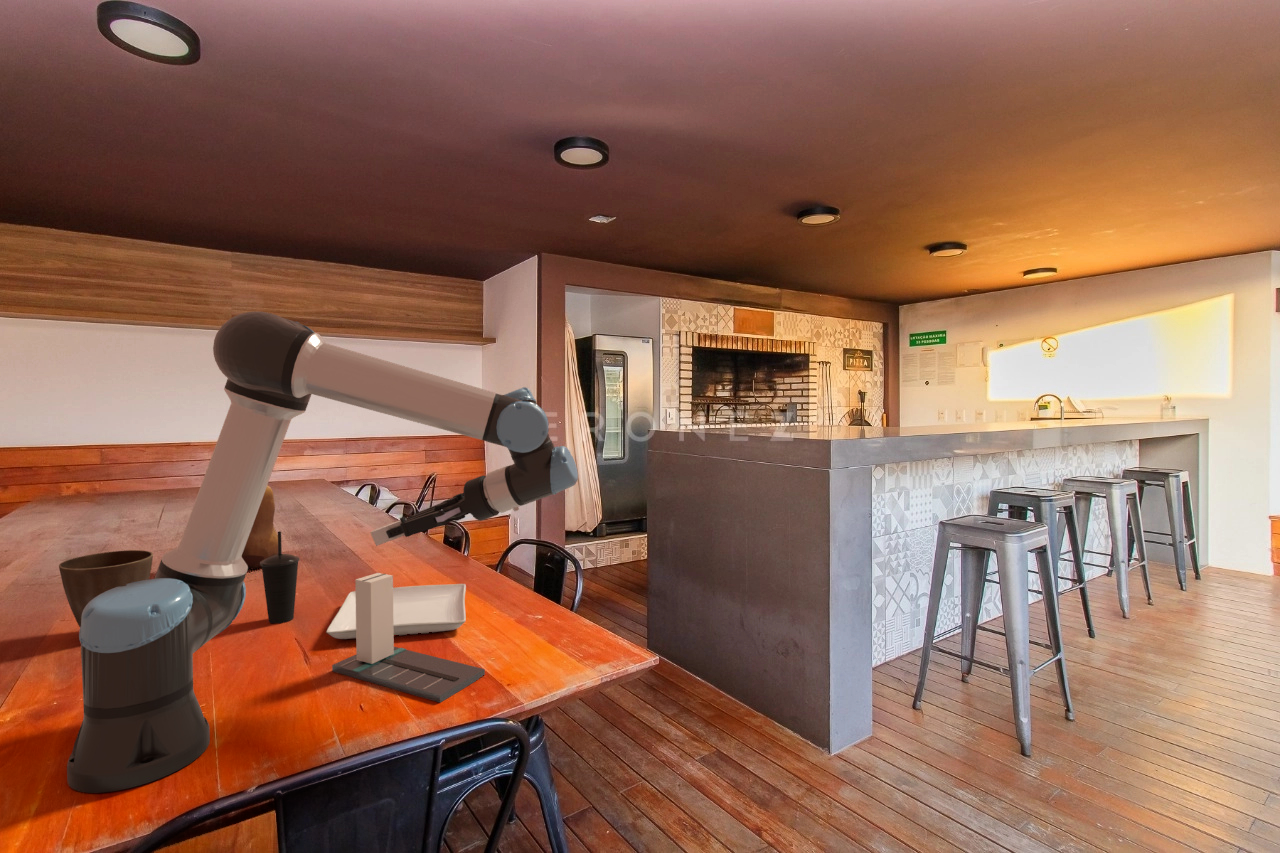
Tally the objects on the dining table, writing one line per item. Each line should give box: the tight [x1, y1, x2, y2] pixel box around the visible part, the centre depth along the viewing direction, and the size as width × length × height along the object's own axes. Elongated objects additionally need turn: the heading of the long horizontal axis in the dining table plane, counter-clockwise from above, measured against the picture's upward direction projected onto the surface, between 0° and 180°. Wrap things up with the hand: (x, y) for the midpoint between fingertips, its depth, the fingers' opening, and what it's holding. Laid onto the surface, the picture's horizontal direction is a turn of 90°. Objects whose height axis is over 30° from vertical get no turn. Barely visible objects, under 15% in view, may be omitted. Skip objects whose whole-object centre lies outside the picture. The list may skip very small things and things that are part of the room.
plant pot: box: [58, 549, 154, 628], centre depth 128 cm, size 15×15×16 cm
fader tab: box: [354, 572, 395, 664], centre depth 114 cm, size 4×5×15 cm
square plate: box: [325, 583, 467, 640], centre depth 138 cm, size 27×27×4 cm
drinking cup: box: [260, 530, 300, 624], centre depth 136 cm, size 8×8×20 cm
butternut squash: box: [242, 485, 278, 570], centre depth 179 cm, size 14×13×25 cm
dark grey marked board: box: [331, 646, 486, 704], centre depth 110 cm, size 26×11×1 cm, turn 64°
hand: (375, 537), depth 111 cm, fingers closed
